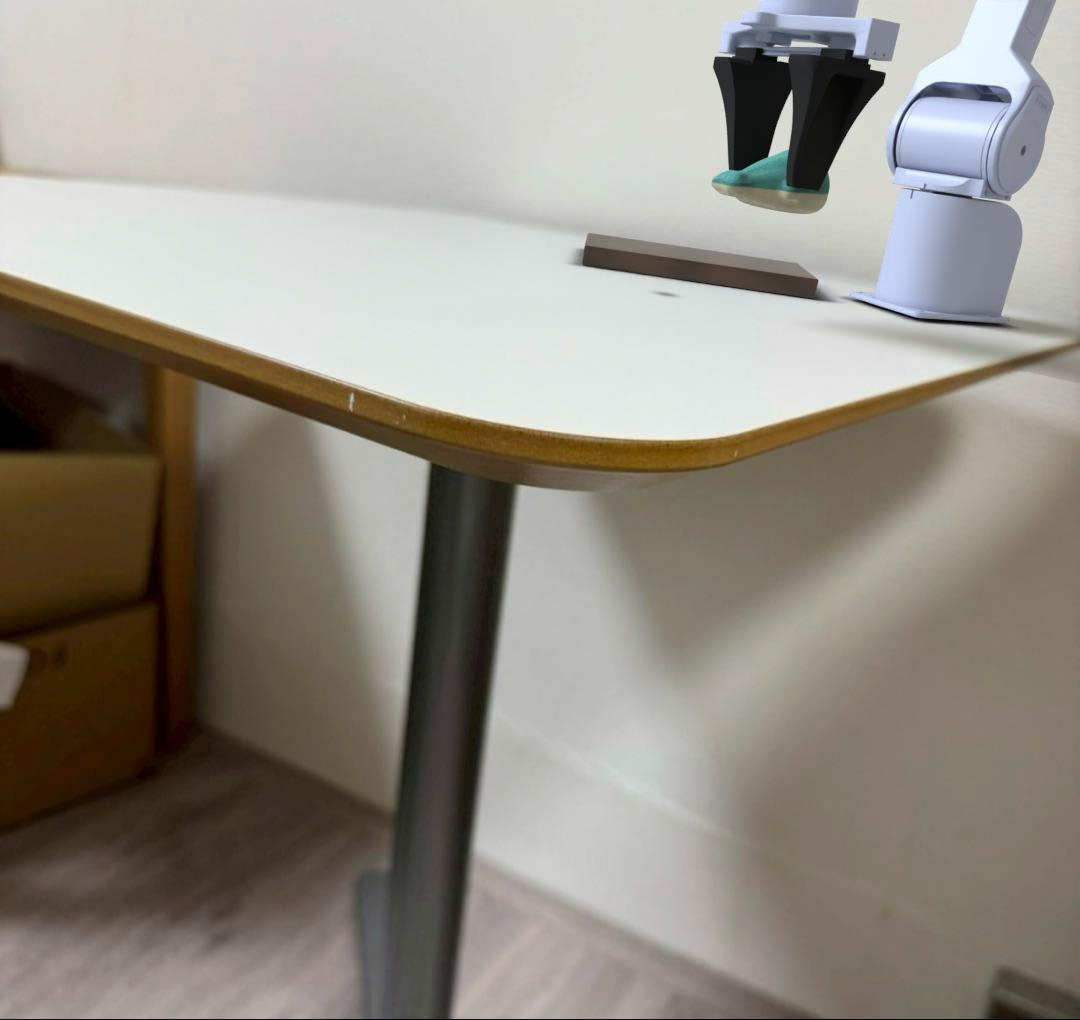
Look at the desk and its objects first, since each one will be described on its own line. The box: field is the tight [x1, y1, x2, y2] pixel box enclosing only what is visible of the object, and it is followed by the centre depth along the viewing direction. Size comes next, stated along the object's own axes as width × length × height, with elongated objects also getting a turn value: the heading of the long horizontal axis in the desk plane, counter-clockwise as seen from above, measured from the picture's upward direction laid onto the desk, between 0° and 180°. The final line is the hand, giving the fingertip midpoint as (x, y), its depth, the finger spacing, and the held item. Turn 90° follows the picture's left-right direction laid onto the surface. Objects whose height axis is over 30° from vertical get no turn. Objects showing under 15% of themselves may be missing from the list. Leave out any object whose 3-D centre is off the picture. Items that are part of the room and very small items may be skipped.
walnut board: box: [581, 232, 819, 300], centre depth 85 cm, size 18×10×2 cm, turn 86°
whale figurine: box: [711, 148, 831, 215], centre depth 66 cm, size 6×7×4 cm
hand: (772, 182), depth 66 cm, fingers closed on whale figurine, 6 cm apart
